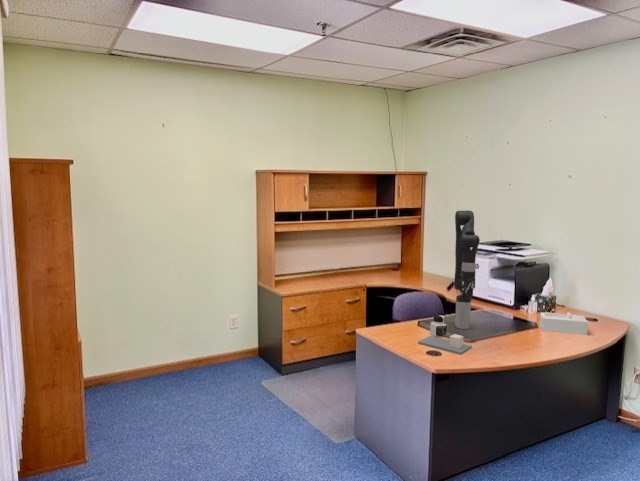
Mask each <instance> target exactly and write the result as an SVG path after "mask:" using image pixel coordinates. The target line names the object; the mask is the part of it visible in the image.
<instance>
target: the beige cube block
mask: <svg viewBox="0 0 640 481" xmlns="http://www.w3.org/2000/svg"><path fill="white" fill-rule="evenodd" d="M464 338H465V336H463V335H461V334H455V333H454V334H452V335H449V340H450V342H449V347H452V348H456V349H460V348H461V347H463V344H464Z"/></svg>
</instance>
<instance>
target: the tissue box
mask: <svg viewBox="0 0 640 481" xmlns="http://www.w3.org/2000/svg"><path fill="white" fill-rule="evenodd" d="M539 327H540V329H541V331H542V332H546V333H547V332H548V333H560V334H569V335H571V334H572V335H581V336H588V330H589V329H588V327H589V321H588V320H587V319H586V318H585V316H583V315H578V314H572V313H571V312H566V313H564V314H563V313H557V312H547V311H543V312H540V313H539Z"/></svg>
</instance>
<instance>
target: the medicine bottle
mask: <svg viewBox="0 0 640 481" xmlns="http://www.w3.org/2000/svg"><path fill="white" fill-rule="evenodd" d="M444 321H445V317H444V316H443V315H440V314H436V315H434V316H433V321H432V322H431V321H430V328H429V329H430V330H429V331H430V333H429V334H431V336H433V337H437V338H441V337H447V326H448V325H447V324H446V323H445V322H444Z"/></svg>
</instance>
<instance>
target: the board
mask: <svg viewBox="0 0 640 481" xmlns="http://www.w3.org/2000/svg"><path fill="white" fill-rule="evenodd" d="M449 342H450V339H445V338H441V337H435V336H433V335H429V336H427V337H425V338H423V339H420V340H419V341H418V342H417V343H418V344H419V345H422V346H426V347H430V348H433V349H437V350H441V351H445V352H449V353H453V354H456V355H463V354H465V353H466V352H468V351H469V350H471V349H472V348H473V345H469V344H466V343H463V347H461V348H460V349H456V348H452V347H449Z"/></svg>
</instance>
